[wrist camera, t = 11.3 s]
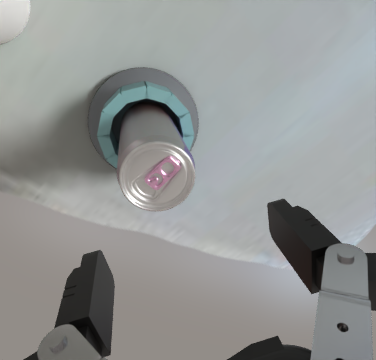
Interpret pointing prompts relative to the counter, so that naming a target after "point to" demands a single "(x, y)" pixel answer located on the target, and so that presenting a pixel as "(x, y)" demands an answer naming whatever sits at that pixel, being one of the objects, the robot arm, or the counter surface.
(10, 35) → the mug
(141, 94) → the holder
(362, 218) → the counter surface
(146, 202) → the beverage can
